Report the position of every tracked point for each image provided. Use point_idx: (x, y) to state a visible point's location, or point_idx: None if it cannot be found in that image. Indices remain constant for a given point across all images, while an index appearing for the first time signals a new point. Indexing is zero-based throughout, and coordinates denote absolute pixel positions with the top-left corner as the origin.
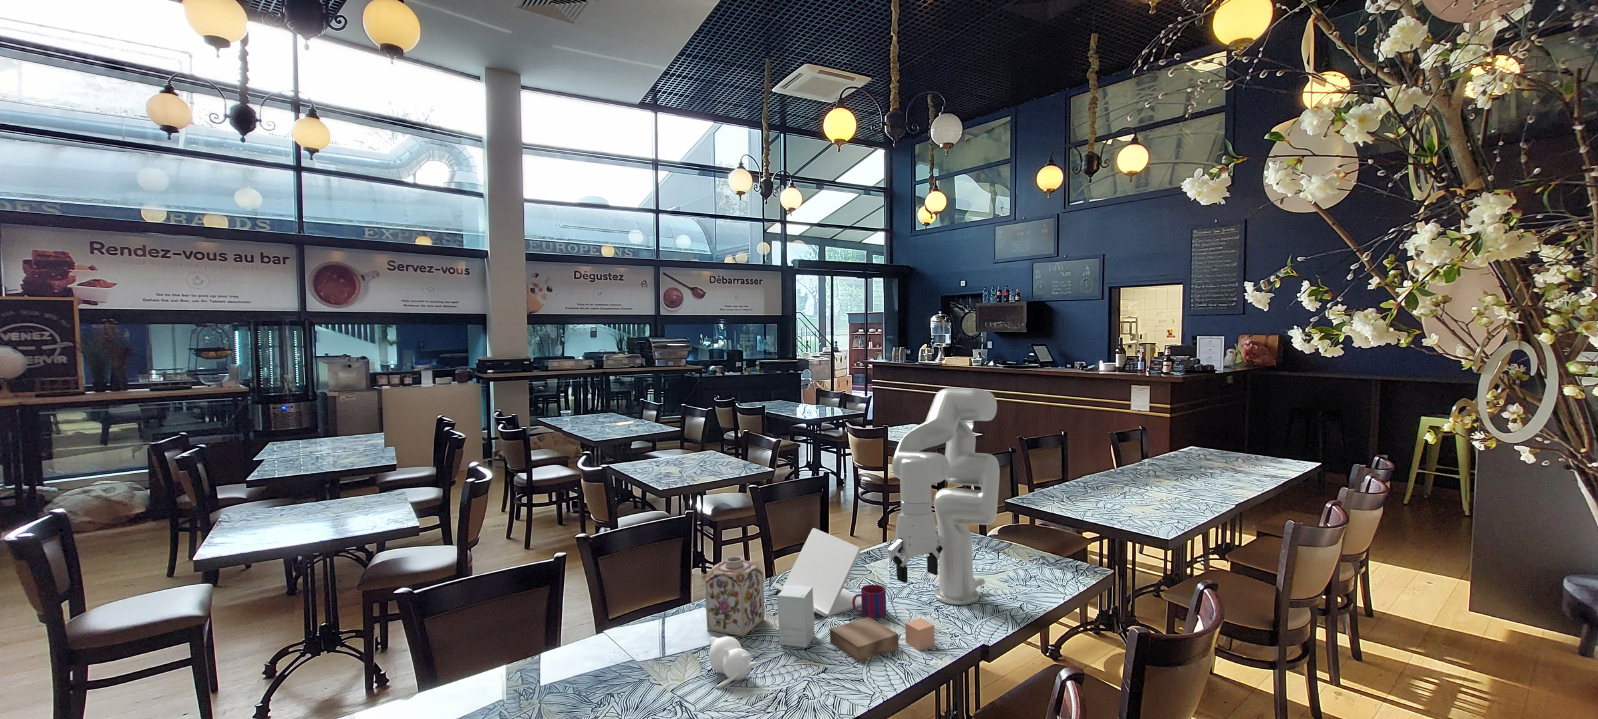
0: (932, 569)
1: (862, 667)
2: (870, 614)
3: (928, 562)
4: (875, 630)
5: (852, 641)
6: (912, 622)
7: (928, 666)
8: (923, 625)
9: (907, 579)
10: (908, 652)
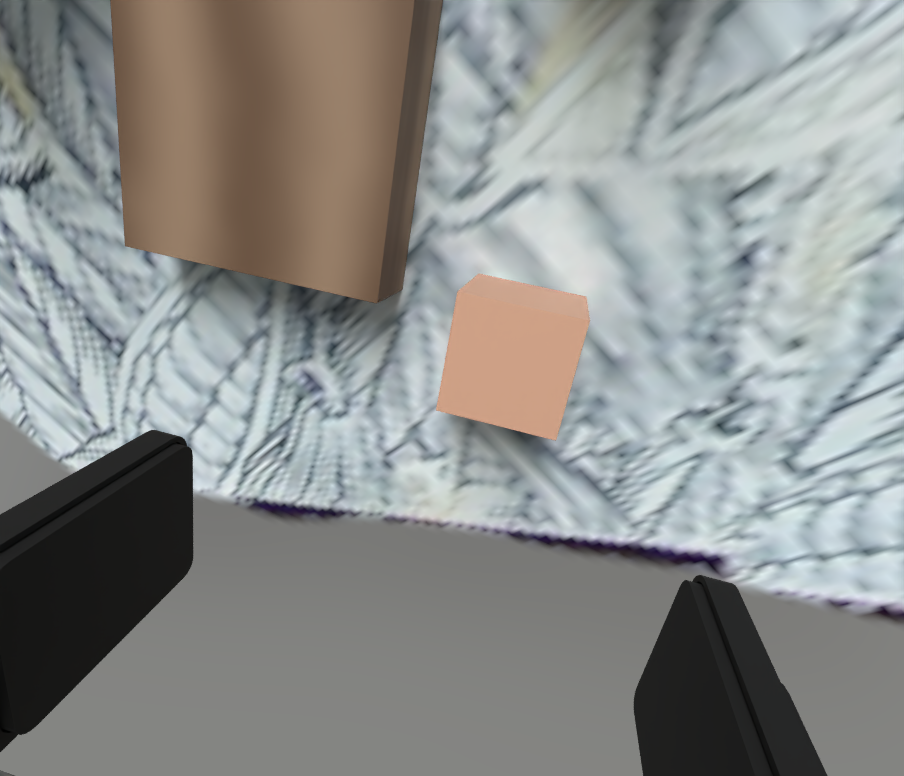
0: (660, 713)
1: (168, 284)
2: None
3: (716, 735)
4: (312, 169)
5: (134, 174)
6: (495, 322)
7: (375, 476)
8: (506, 396)
9: (168, 591)
10: (405, 349)
